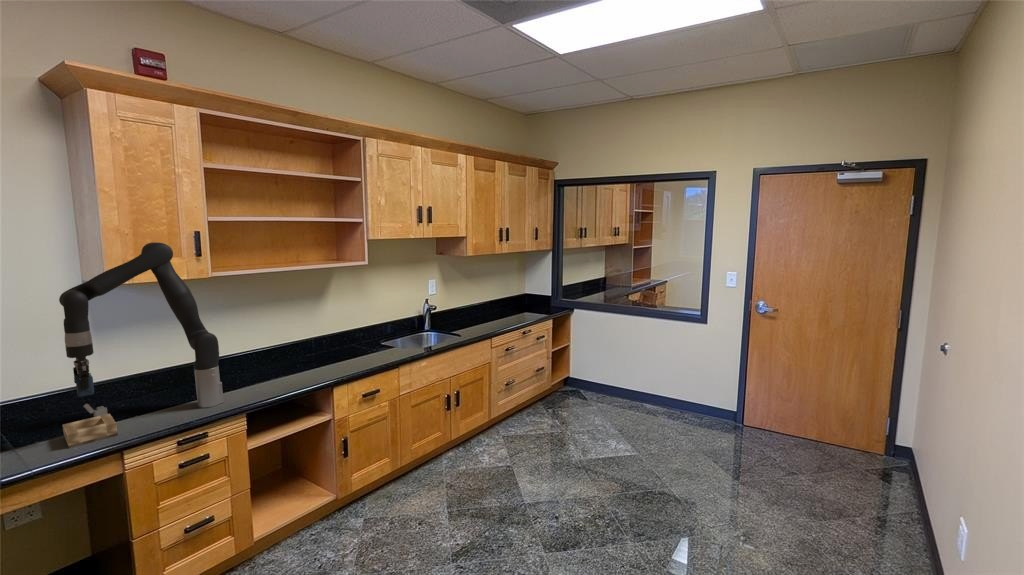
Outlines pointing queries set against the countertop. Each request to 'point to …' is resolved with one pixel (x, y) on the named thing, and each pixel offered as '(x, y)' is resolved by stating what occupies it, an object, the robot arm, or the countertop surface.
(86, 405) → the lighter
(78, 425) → the block
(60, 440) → the countertop surface
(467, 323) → the countertop surface
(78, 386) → the vaping device
